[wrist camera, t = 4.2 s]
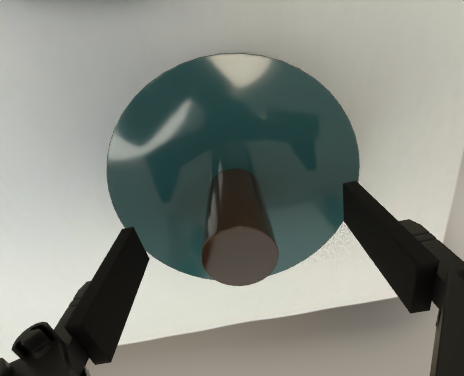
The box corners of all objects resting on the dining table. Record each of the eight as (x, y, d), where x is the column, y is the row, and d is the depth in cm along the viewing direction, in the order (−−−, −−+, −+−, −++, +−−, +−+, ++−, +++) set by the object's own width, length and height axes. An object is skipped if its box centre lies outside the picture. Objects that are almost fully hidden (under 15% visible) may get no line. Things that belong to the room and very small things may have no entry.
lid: (162, 286, 25) (138, 380, 18) (64, 92, 17) (-57, 121, 9) (352, 250, 24) (409, 336, 17) (351, 18, 15) (467, -14, 8)
